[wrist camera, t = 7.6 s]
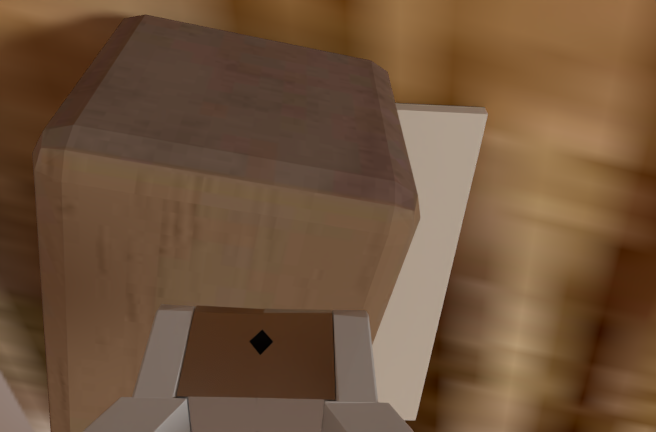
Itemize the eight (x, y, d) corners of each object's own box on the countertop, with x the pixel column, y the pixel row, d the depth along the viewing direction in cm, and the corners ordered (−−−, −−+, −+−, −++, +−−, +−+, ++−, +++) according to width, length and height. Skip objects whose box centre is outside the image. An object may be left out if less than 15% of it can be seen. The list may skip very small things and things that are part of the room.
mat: (85, 88, 25) (81, 95, 24) (484, 107, 25) (487, 114, 25) (142, 406, 36) (140, 414, 36) (414, 411, 37) (415, 420, 37)
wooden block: (122, -1, 22) (112, 368, 33) (13, 137, 14) (49, 561, 25) (394, 55, 23) (295, 390, 35) (438, 210, 15) (291, 580, 27)
